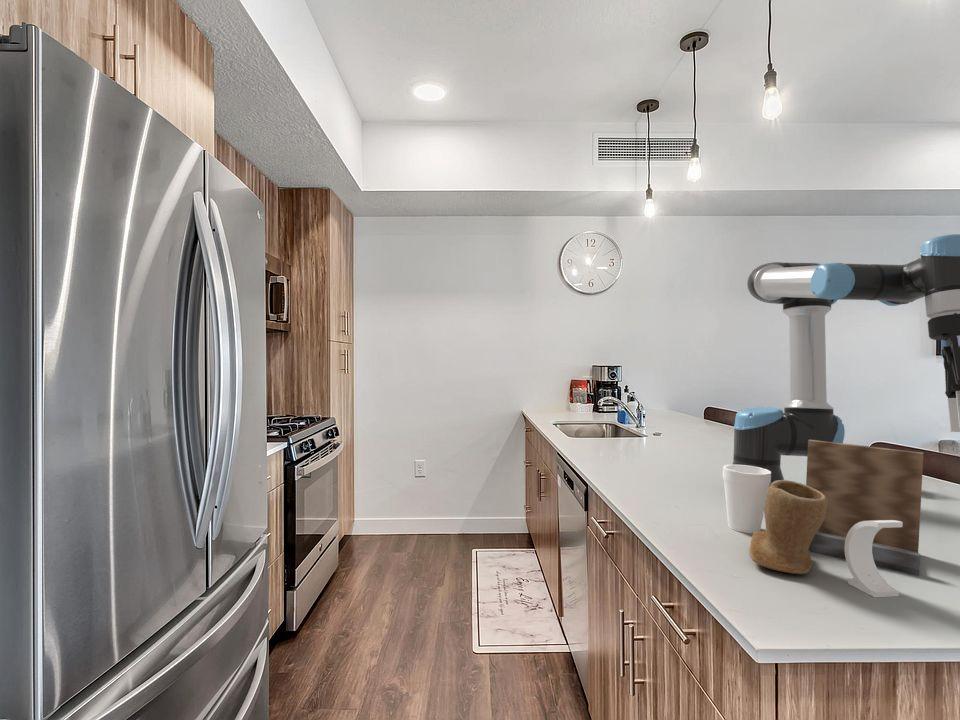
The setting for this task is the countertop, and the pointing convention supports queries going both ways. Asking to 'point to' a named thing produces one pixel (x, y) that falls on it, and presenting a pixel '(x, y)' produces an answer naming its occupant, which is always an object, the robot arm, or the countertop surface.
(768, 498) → the tan suede boot
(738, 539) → the countertop surface
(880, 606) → the countertop surface
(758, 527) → the foam cup
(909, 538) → the board
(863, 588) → the white curved saddle bracket
